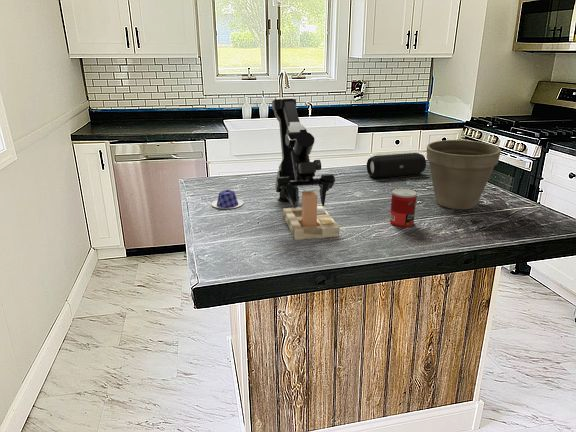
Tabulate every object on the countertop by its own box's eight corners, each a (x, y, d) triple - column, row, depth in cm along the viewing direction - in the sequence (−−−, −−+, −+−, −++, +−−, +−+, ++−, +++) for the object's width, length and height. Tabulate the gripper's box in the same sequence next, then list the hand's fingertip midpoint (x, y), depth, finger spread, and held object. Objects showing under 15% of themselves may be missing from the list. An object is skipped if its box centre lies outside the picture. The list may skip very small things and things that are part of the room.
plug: (301, 229, 145) (301, 191, 140) (313, 229, 145) (314, 191, 141) (304, 234, 141) (304, 195, 136) (316, 233, 142) (317, 194, 137)
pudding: (223, 198, 176) (222, 185, 174) (249, 202, 171) (249, 189, 169) (205, 207, 166) (204, 194, 164) (232, 212, 161) (231, 198, 159)
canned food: (409, 229, 145) (412, 197, 141) (386, 224, 149) (388, 193, 145) (416, 221, 151) (420, 190, 147) (394, 217, 155) (396, 187, 151)
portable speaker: (374, 180, 197) (375, 158, 193) (365, 175, 206) (366, 153, 202) (425, 176, 203) (428, 154, 199) (414, 170, 212) (416, 150, 208)
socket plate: (283, 216, 156) (283, 207, 155) (321, 213, 158) (322, 204, 157) (295, 240, 137) (295, 230, 136) (339, 236, 140) (339, 226, 138)
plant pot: (453, 219, 153) (461, 157, 145) (407, 198, 174) (413, 143, 166) (506, 208, 162) (517, 150, 154) (457, 190, 183) (464, 137, 175)
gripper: (276, 152, 137) (283, 197, 131) (334, 149, 140) (344, 193, 134) (272, 170, 147) (278, 213, 141) (327, 167, 150) (335, 208, 144)
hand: (309, 206), depth 140 cm, fingers open, 9 cm apart
